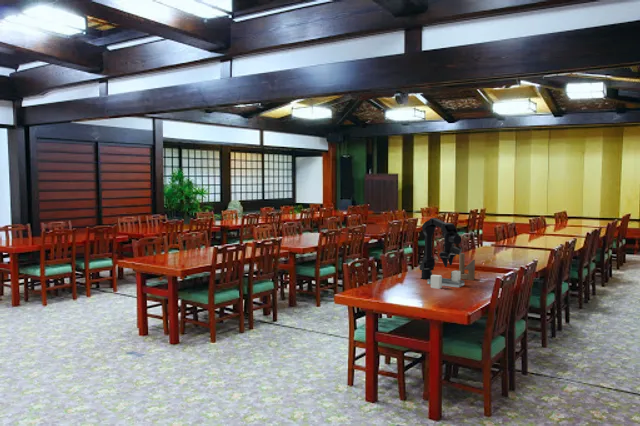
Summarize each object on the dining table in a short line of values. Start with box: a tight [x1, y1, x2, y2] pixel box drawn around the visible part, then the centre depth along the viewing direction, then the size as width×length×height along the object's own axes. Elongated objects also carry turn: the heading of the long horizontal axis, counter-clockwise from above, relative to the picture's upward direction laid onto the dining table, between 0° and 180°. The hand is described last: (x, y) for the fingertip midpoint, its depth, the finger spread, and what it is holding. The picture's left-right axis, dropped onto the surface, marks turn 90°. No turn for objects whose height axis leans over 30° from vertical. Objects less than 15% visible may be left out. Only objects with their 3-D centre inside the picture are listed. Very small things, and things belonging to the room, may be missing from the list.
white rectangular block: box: [430, 274, 443, 290], centre depth 340 cm, size 6×4×8 cm
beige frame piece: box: [458, 252, 476, 281], centre depth 369 cm, size 4×11×18 cm, turn 53°
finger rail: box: [426, 270, 465, 288], centre depth 351 cm, size 22×10×10 cm, turn 55°
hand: (448, 266), depth 345 cm, fingers open, 9 cm apart
